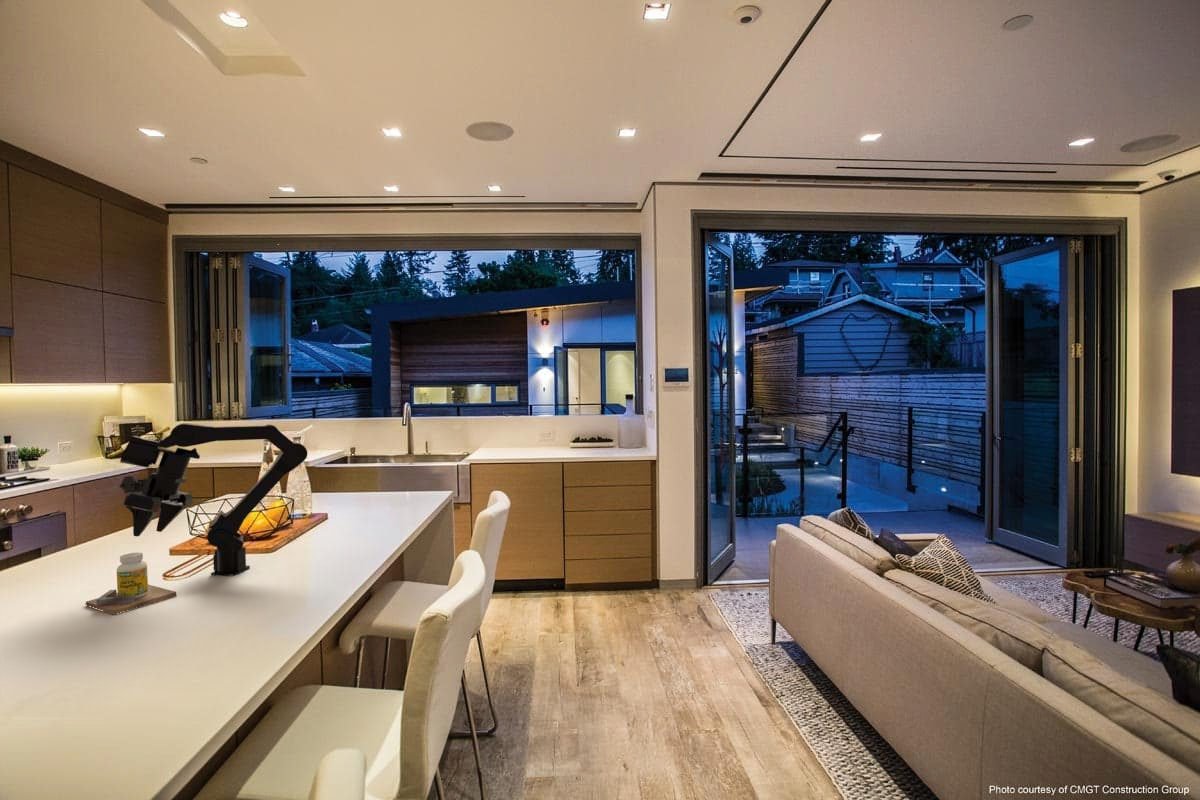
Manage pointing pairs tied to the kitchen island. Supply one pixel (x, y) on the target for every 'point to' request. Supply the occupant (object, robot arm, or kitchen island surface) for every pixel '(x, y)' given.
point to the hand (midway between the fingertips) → (147, 533)
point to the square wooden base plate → (129, 600)
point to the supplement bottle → (132, 575)
